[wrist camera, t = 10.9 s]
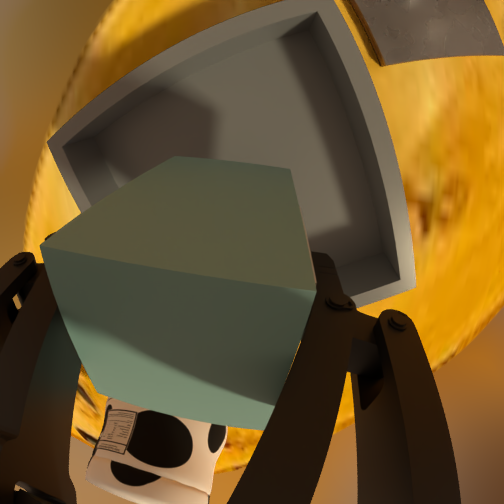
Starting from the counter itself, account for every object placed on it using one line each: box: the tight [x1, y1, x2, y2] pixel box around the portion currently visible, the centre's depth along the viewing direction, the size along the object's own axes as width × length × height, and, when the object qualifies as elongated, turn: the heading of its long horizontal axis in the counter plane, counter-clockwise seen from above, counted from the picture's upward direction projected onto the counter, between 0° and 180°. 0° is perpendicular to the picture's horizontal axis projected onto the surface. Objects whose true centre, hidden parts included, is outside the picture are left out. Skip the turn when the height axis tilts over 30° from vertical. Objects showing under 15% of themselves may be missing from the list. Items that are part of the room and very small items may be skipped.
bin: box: [47, 0, 416, 308], centre depth 18 cm, size 20×20×5 cm
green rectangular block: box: [40, 156, 317, 430], centre depth 11 cm, size 6×6×10 cm
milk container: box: [86, 397, 228, 504], centre depth 28 cm, size 17×17×18 cm
